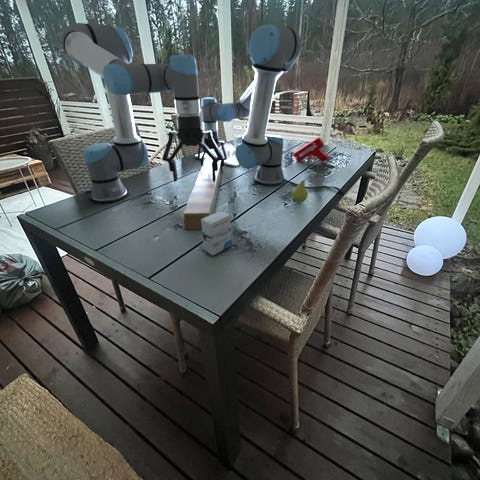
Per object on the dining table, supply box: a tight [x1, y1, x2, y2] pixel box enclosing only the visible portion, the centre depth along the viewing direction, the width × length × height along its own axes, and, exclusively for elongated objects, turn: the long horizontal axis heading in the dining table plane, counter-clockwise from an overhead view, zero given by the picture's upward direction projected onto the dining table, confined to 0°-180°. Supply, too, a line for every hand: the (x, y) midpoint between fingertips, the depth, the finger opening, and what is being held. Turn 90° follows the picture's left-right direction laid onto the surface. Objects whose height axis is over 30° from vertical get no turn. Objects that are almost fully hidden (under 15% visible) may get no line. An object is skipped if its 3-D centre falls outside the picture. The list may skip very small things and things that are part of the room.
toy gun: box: [293, 136, 329, 164], centre depth 170 cm, size 18×4×15 cm
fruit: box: [291, 174, 311, 204], centre depth 118 cm, size 7×8×12 cm
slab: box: [183, 159, 222, 230], centre depth 129 cm, size 68×9×7 cm, turn 0°
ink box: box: [201, 210, 232, 257], centre depth 88 cm, size 8×5×12 cm, turn 135°
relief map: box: [194, 142, 241, 167], centre depth 181 cm, size 27×35×5 cm
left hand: (195, 180), depth 96 cm, fingers open, 13 cm apart
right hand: (213, 171), depth 156 cm, fingers closed on slab, 9 cm apart
